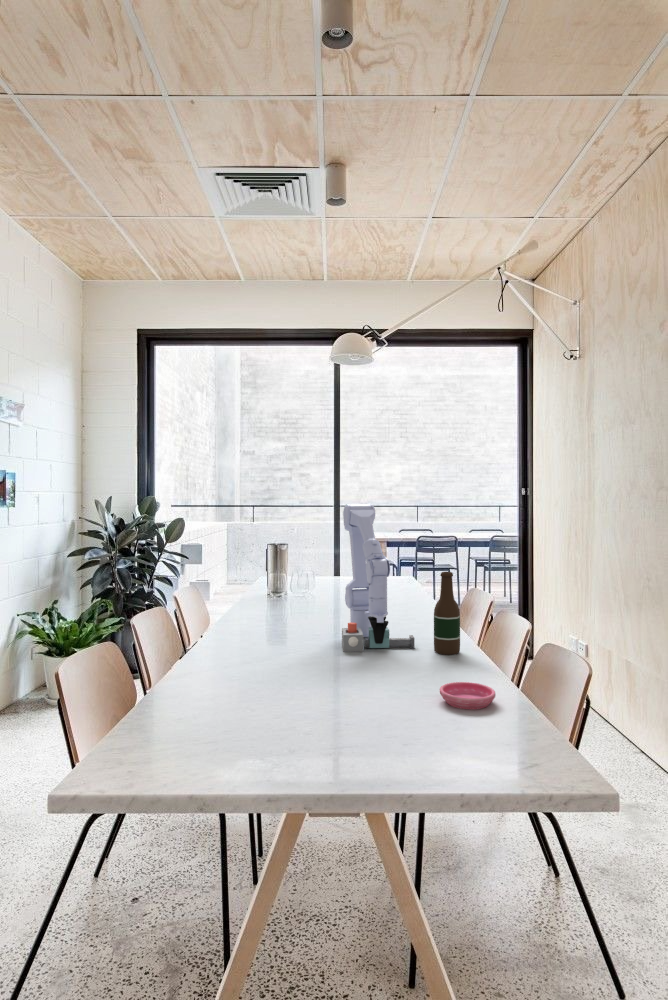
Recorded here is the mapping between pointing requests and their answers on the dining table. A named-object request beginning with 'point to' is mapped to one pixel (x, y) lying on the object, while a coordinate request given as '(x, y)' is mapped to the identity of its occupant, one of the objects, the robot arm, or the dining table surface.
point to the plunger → (352, 627)
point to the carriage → (385, 640)
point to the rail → (397, 642)
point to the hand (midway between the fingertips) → (378, 641)
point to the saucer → (467, 695)
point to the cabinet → (352, 640)
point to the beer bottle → (446, 619)
